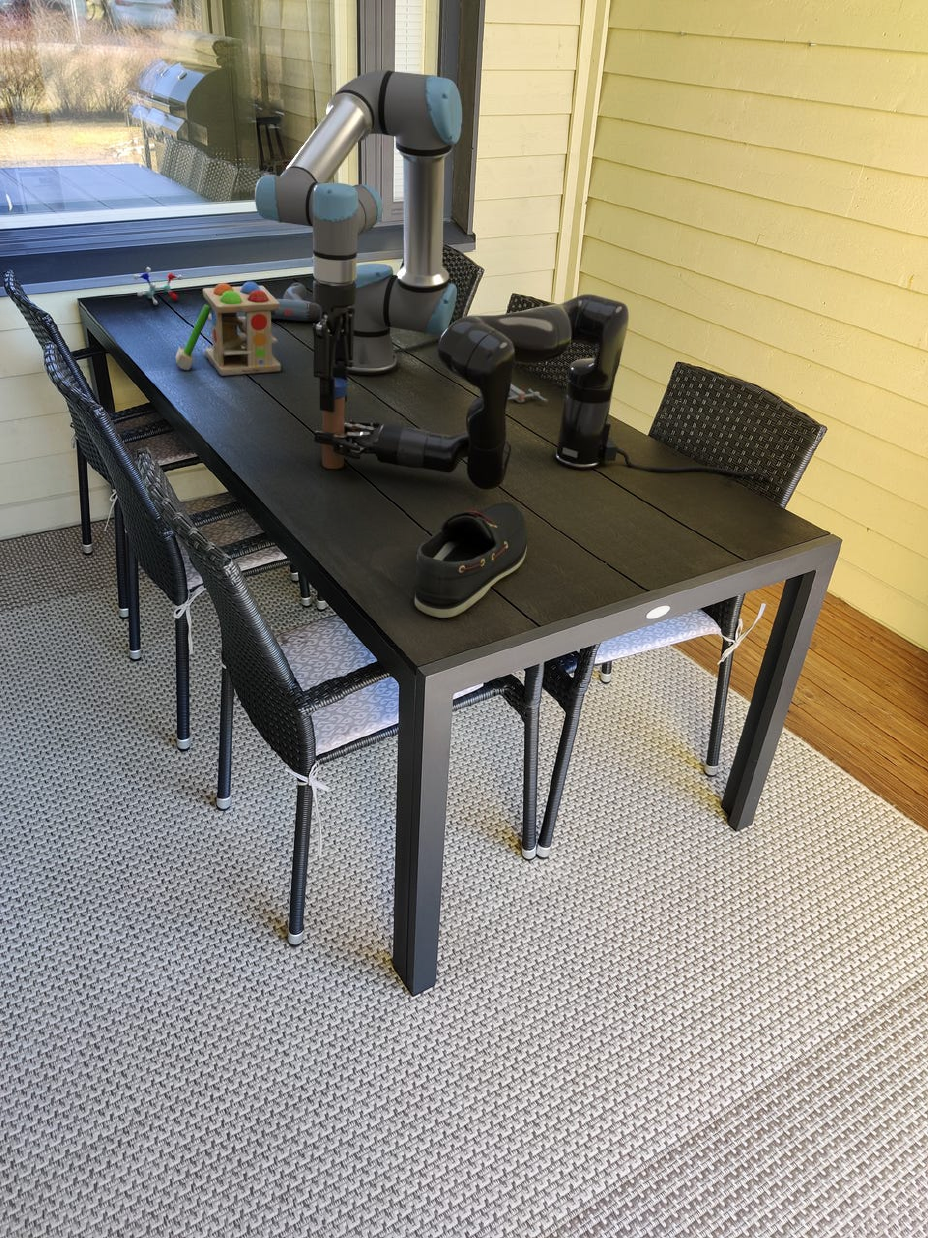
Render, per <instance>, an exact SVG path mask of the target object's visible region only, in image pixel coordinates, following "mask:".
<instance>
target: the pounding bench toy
mask: <svg viewBox="0 0 928 1238" xmlns="http://www.w3.org/2000/svg"><path fill="white" fill-rule="evenodd" d="M202 296H203V298H204V299H205V300H206V301H207V302H208V304H209V305H208V304H204V305H203V307H202V309H201V312H200V313H199V316H198V318H197V320H196V322H195V324H194V327H193V329H192V331H191V332H190V333H191V334H190V336H189V338H188V340H187V343H186V344H185V347H184V348H182V347H180V346H179V347H178V349H177V351H176V354H175V357H174V358H175V362H176V365H177V366H178V368H179V369H182V370H185V371H189V370H190V369H191V367H192V365H193V363H194V356H193V351H194V348H195V347H196V345H197V342H198V340H199V337H200V336H201V333H202V332H203V329H204V326H205V325H206V322H207V320H209V321H210V322H211V336H212V337H211V338H212V339H211V340H212V348H205V349H204V352H205V353H204V355H205V357H206V359H208V361H209V363H210V364H211V365H212V366H213V367H214V369H215V370H216V371H217V372H218V374H219V375H220V376H222V377H223V376H234V375H235V376H236V375H246V374H247V375H250V374H262V373H275V372H281V370H282V364H281V363H280V362H279V360H278V359H277V358H276V357H275V356H274V355H273V348H272V347H273V345H272V344H276V343H278V342H279V341H278V339H277V338H276V337H275V336H274V334H272V318H271V310H280V303H279V302H278V301H277V300H276V299H277V298H276V297H274V296H273V295H272V294H271V293H270V292H269V290H268V289H267V288H266V287H264V285H259V284H257V283H256V282H255V281H247V282H245V283H244V284H243V285H242V286H232V285H230V284H229V283H226V282H221V283H218V284H217V285H216V286H215V287H204V288H203V289H202ZM238 313H244V314H245V315H244V316H238ZM238 329H239V331H240V333H239V334H238Z"/></svg>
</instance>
